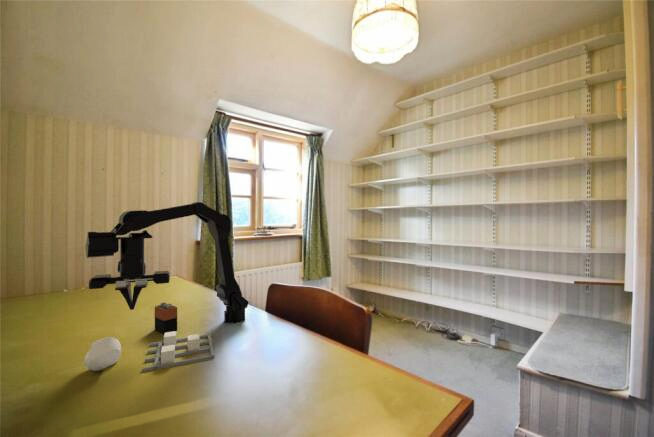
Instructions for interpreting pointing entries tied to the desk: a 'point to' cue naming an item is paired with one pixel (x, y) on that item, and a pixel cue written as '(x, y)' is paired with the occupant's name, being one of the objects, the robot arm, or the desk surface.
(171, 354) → the cream block
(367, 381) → the desk surface
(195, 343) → the beige squarish block
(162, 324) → the battery
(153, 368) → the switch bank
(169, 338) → the cream squarish block
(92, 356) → the white rounded piece
